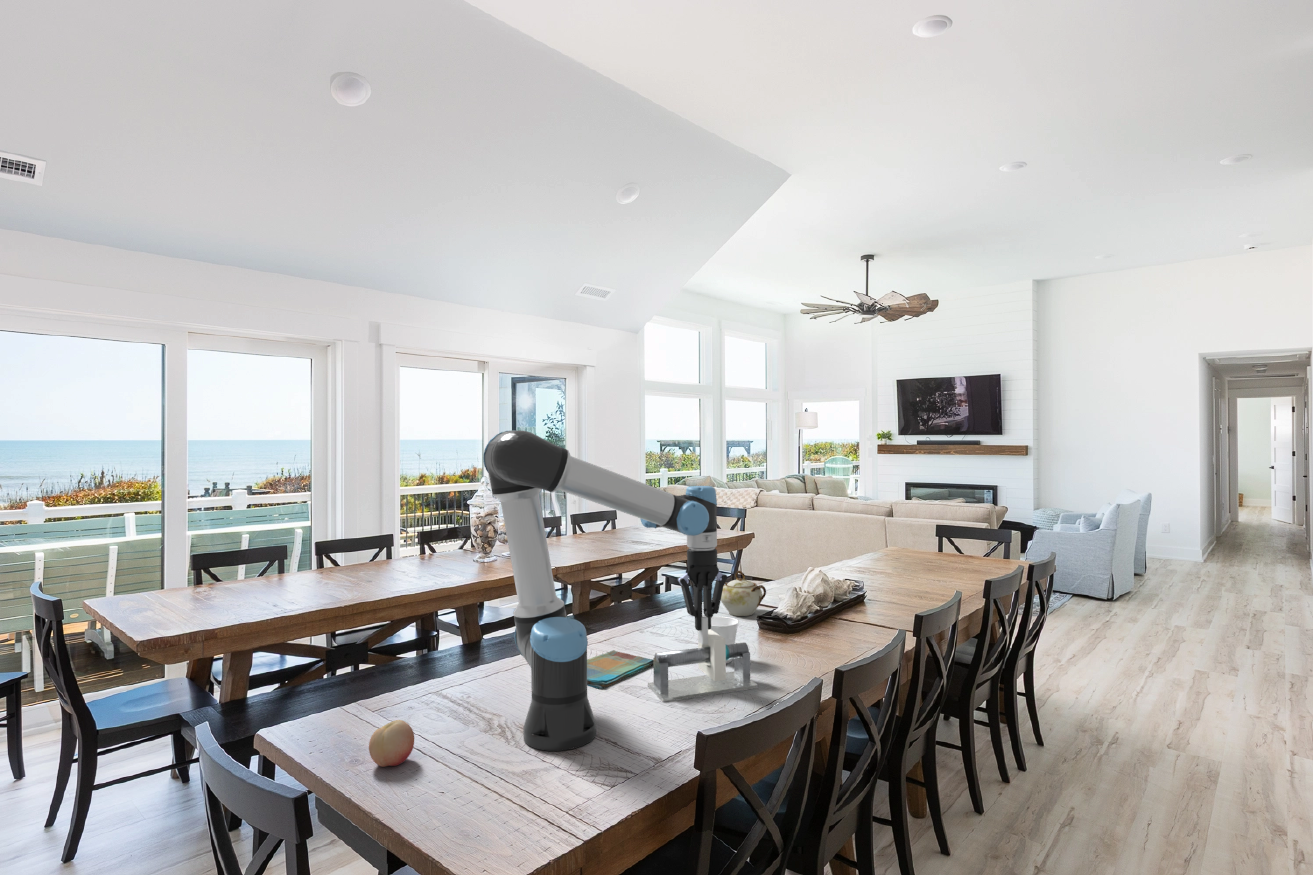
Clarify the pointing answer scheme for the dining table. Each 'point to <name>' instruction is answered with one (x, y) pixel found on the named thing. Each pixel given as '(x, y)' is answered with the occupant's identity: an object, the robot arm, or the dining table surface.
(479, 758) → the dining table surface
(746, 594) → the sugar bowl
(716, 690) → the pipe rig
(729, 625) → the cup
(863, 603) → the dining table surface
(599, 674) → the dish towel
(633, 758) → the dining table surface
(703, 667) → the collar
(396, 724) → the fruit
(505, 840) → the dining table surface
